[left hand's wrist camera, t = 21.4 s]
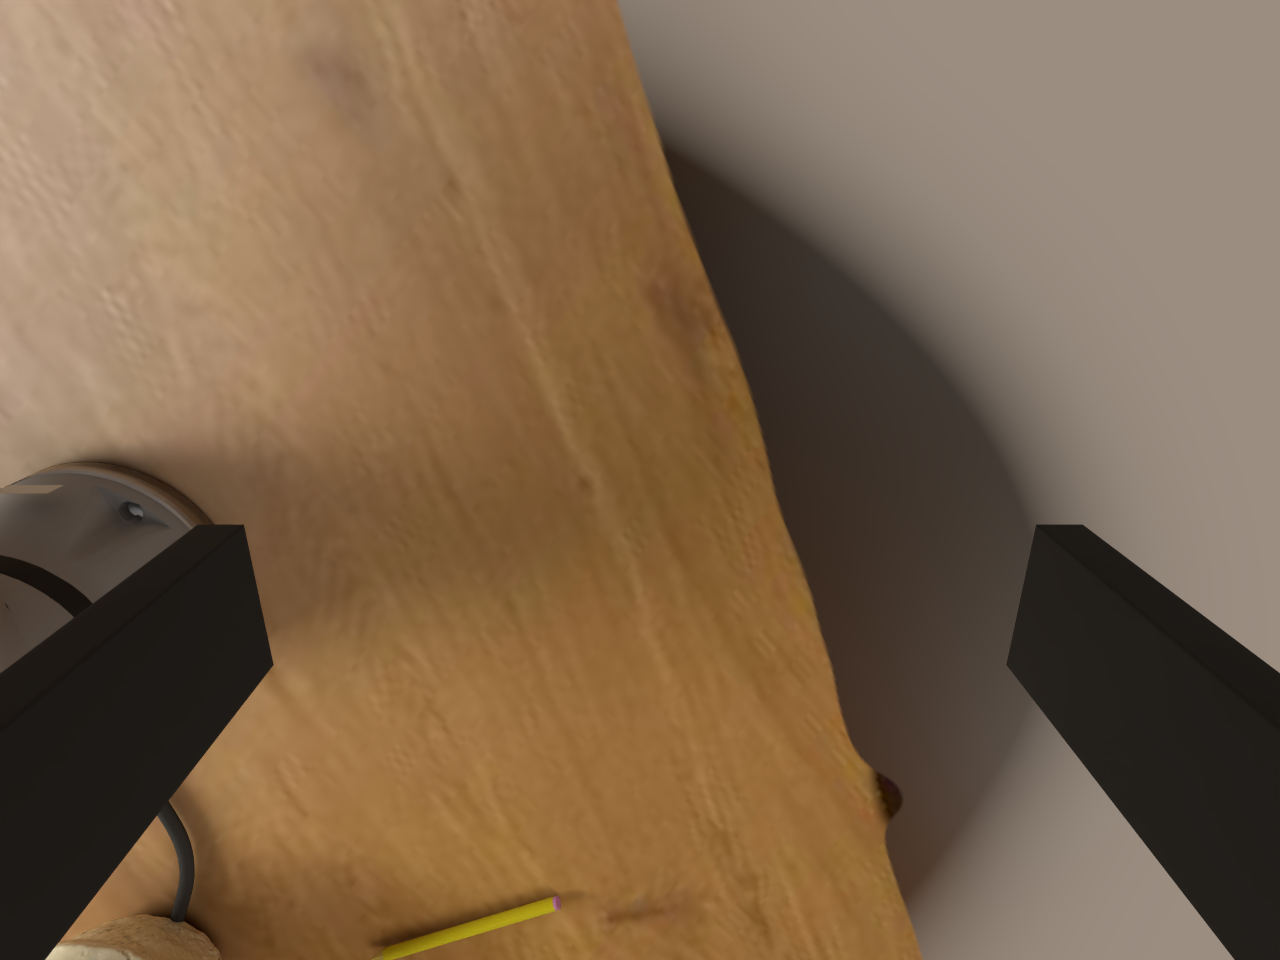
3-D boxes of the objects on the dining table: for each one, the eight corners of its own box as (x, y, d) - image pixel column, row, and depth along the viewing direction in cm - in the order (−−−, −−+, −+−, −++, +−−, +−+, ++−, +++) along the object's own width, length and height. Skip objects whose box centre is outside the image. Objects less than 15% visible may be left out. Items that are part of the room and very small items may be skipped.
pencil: (556, 892, 57) (554, 903, 56) (561, 901, 58) (560, 912, 57) (368, 949, 60) (364, 961, 59) (375, 957, 60) (370, 969, 59)
